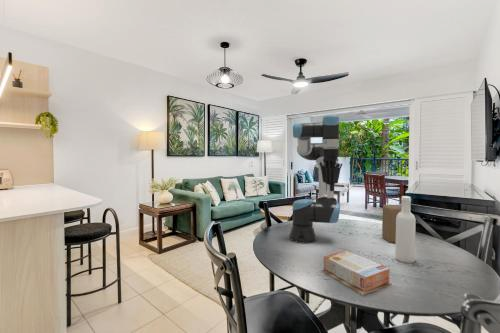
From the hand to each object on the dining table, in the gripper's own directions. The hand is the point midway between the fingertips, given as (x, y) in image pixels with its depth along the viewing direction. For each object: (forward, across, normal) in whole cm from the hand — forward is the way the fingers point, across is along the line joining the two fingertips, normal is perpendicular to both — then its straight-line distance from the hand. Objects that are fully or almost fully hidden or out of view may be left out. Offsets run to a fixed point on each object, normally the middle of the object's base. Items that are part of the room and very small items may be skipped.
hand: (330, 197), depth 117 cm
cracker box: (+26, +9, -5) cm, 28 cm away
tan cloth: (+29, +20, -5) cm, 36 cm away
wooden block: (+30, -1, +51) cm, 59 cm away
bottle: (+30, +18, +30) cm, 46 cm away
